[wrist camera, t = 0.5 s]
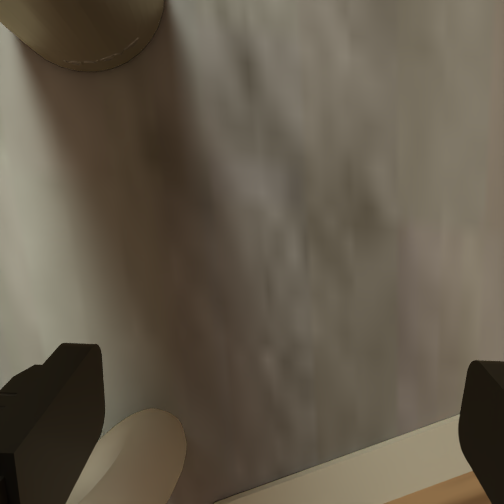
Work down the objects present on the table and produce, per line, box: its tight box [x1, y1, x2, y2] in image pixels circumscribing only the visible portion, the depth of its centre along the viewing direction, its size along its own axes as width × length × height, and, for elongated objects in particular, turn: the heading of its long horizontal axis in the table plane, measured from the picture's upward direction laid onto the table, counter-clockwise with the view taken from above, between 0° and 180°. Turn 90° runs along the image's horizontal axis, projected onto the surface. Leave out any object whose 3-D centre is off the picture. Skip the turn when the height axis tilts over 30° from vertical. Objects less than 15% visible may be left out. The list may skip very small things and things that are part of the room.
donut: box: [66, 408, 187, 504], centre depth 27 cm, size 10×3×10 cm, turn 133°
